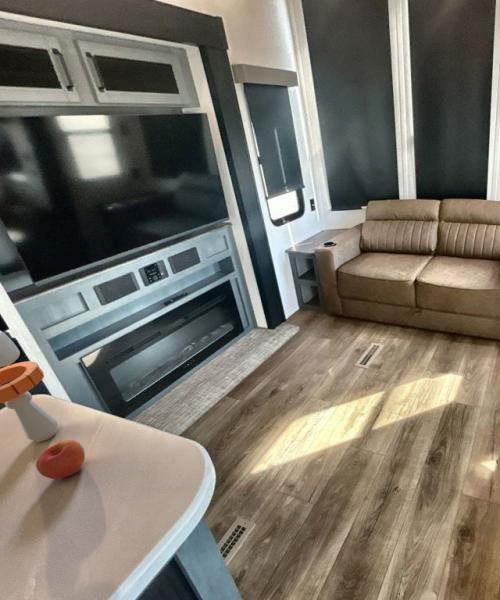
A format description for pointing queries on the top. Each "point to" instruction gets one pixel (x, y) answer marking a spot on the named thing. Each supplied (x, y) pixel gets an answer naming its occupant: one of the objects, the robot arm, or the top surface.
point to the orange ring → (19, 379)
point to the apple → (61, 459)
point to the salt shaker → (33, 418)
